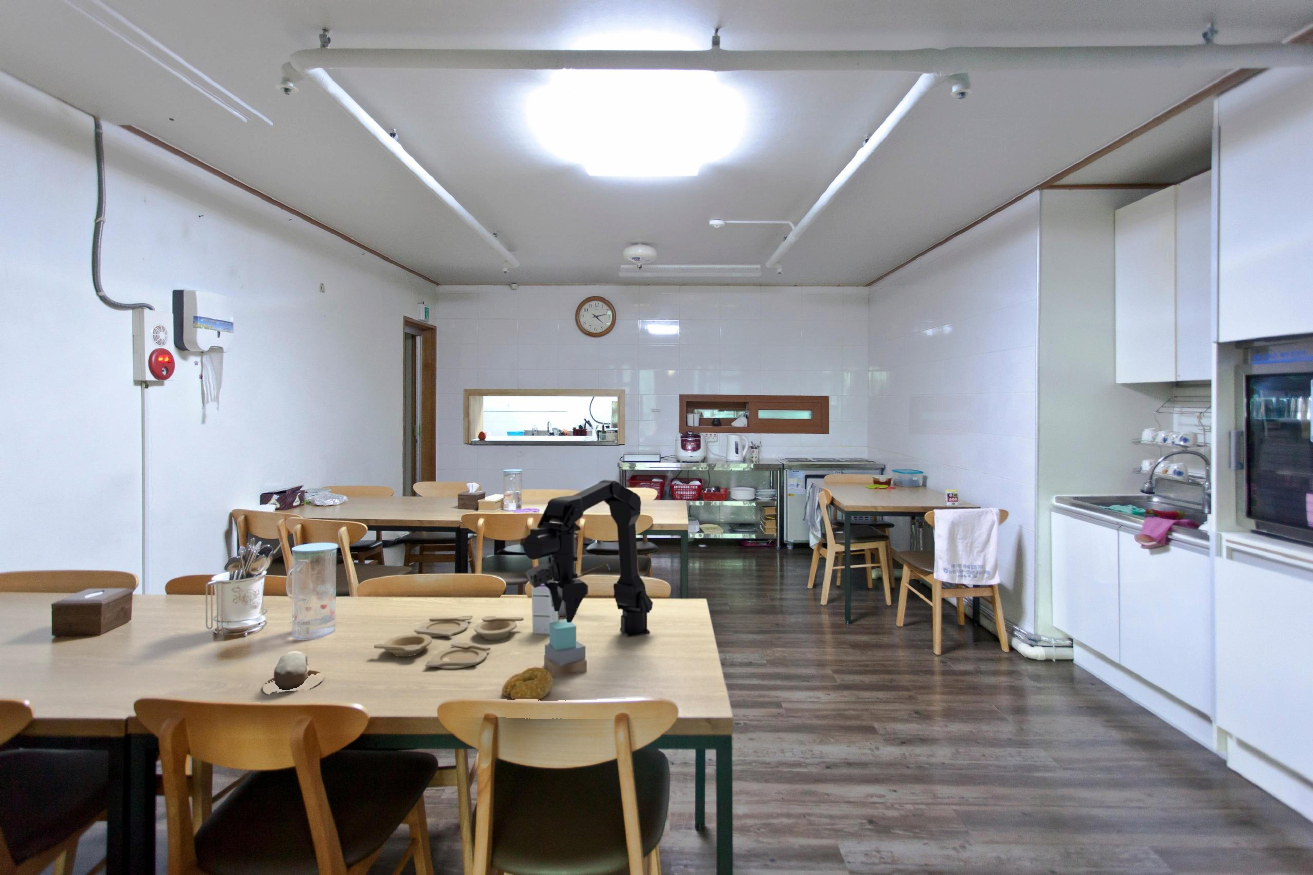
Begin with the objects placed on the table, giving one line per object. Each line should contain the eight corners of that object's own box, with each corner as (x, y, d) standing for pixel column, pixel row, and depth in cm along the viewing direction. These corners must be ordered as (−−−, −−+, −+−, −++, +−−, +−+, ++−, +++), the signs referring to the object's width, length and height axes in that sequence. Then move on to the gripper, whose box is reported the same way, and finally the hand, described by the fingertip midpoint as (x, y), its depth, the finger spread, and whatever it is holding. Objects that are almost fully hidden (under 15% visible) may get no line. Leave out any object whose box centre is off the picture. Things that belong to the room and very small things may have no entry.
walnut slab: (575, 661, 156) (575, 649, 156) (586, 673, 149) (586, 660, 149) (544, 666, 152) (544, 654, 152) (554, 679, 145) (554, 666, 145)
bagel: (509, 682, 142) (509, 662, 142) (557, 685, 142) (557, 664, 142) (495, 703, 133) (495, 681, 132) (547, 706, 132) (547, 683, 132)
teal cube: (569, 640, 154) (569, 619, 154) (576, 646, 149) (576, 626, 149) (549, 643, 152) (549, 622, 151) (555, 650, 147) (555, 629, 147)
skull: (265, 672, 145) (299, 637, 147) (303, 698, 147) (335, 663, 149) (248, 693, 134) (284, 654, 136) (289, 720, 136) (324, 682, 138)
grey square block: (570, 649, 156) (570, 637, 156) (585, 658, 150) (585, 645, 150) (544, 656, 151) (544, 644, 151) (559, 665, 146) (559, 652, 146)
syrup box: (551, 634, 173) (551, 582, 173) (531, 633, 174) (531, 581, 174) (559, 628, 179) (558, 577, 178) (539, 626, 180) (539, 576, 179)
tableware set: (437, 619, 187) (437, 606, 187) (530, 626, 181) (530, 612, 181) (358, 665, 153) (358, 649, 153) (469, 676, 147) (469, 659, 147)
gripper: (518, 547, 154) (519, 610, 155) (541, 563, 138) (541, 633, 138) (562, 543, 159) (562, 604, 160) (588, 558, 143) (589, 626, 143)
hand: (562, 616), depth 150 cm, fingers open, 9 cm apart
